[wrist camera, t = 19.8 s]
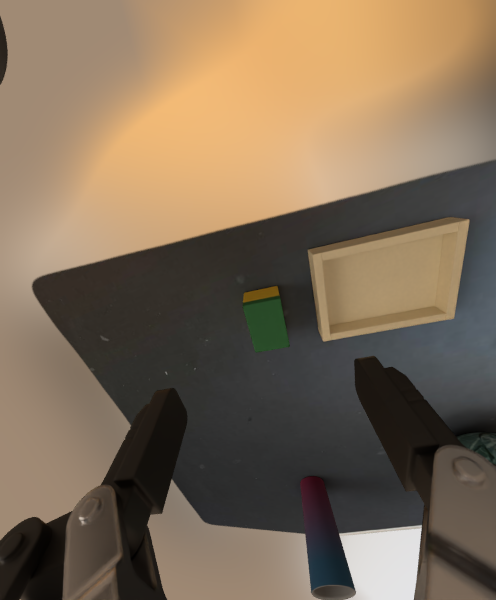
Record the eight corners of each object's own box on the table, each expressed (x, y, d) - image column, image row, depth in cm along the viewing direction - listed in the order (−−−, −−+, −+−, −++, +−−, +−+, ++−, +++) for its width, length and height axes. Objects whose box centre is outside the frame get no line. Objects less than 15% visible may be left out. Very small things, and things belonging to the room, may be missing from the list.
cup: (301, 471, 48) (319, 583, 34) (332, 476, 48) (363, 588, 34) (292, 489, 50) (306, 598, 37) (322, 493, 51) (346, 602, 37)
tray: (318, 330, 33) (323, 341, 30) (307, 249, 28) (312, 254, 25) (438, 308, 31) (454, 318, 28) (450, 216, 26) (469, 219, 23)
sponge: (286, 329, 33) (289, 346, 29) (255, 335, 33) (255, 352, 30) (277, 285, 30) (280, 298, 26) (243, 292, 30) (242, 306, 27)
